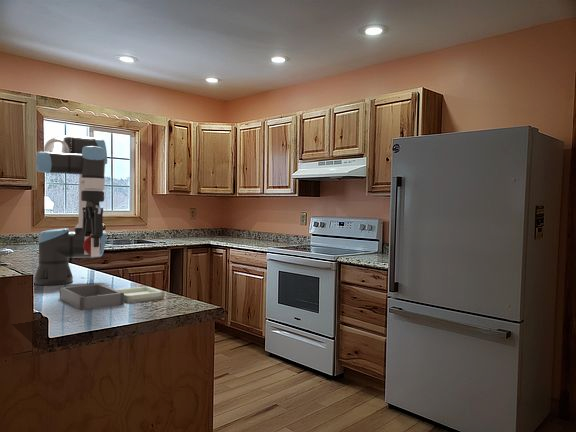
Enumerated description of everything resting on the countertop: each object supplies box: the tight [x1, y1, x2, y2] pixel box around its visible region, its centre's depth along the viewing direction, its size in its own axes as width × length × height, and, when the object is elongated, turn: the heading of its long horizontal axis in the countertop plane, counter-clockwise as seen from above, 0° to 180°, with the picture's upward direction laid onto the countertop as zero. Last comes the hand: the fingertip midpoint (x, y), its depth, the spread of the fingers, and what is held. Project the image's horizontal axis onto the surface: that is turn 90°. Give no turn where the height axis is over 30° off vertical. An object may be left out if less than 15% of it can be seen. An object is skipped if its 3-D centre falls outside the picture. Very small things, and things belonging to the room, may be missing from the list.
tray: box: [116, 285, 165, 304], centre depth 168 cm, size 14×14×2 cm
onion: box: [83, 234, 101, 256], centre depth 159 cm, size 6×6×8 cm
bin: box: [59, 283, 125, 311], centre depth 159 cm, size 22×14×4 cm, turn 43°
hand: (91, 255), depth 159 cm, fingers closed on onion, 6 cm apart
